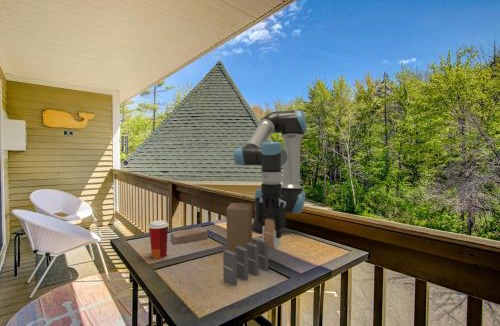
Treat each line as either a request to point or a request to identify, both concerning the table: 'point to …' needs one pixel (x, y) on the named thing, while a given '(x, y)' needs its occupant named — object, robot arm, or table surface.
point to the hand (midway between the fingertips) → (270, 243)
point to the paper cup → (158, 238)
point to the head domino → (269, 232)
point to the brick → (188, 235)
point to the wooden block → (239, 225)
